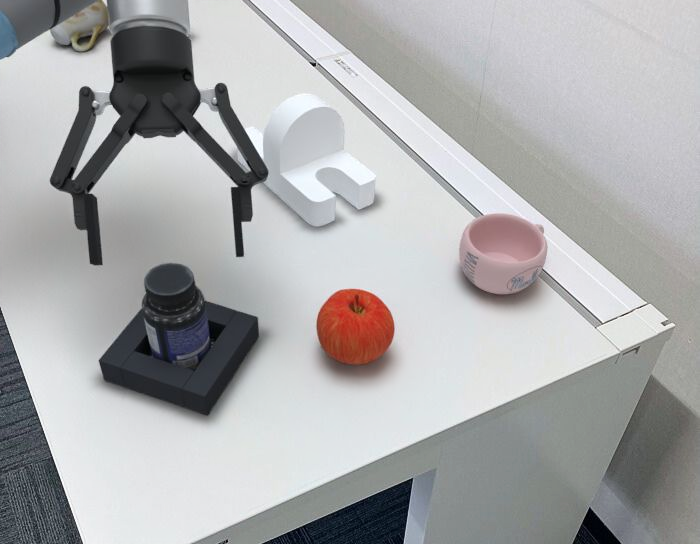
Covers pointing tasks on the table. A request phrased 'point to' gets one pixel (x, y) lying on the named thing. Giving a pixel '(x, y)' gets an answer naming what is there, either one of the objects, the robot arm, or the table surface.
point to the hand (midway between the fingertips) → (169, 260)
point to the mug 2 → (502, 252)
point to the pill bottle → (175, 316)
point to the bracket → (310, 160)
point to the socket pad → (174, 381)
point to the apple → (355, 326)
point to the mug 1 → (82, 26)
